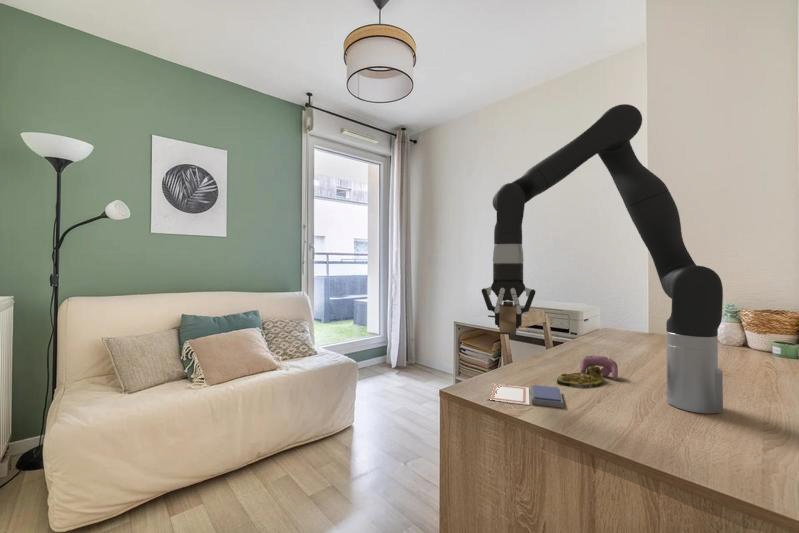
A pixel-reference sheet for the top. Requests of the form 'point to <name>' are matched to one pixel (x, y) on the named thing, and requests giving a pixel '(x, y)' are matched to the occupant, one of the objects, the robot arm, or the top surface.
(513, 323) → the stamp
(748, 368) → the top surface
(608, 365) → the video game controller
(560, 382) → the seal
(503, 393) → the paper sheet
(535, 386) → the ink pad
